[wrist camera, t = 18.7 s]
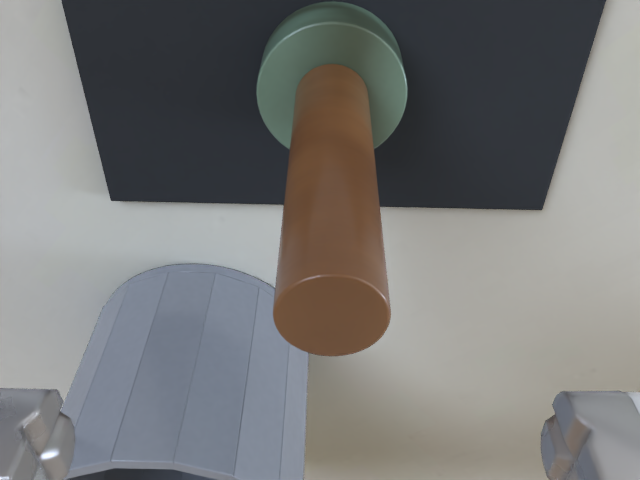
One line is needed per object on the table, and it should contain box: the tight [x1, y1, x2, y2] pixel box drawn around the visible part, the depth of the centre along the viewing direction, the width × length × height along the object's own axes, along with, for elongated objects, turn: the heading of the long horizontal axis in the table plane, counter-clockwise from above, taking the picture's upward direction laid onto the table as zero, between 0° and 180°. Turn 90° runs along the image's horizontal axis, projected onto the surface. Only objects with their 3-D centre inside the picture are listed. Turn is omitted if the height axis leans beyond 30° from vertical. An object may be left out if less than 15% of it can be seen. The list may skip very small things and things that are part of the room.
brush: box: [256, 2, 408, 356], centre depth 17 cm, size 5×5×12 cm
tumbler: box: [60, 264, 309, 480], centre depth 27 cm, size 11×11×10 cm
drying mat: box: [62, 0, 606, 210], centre depth 22 cm, size 18×12×1 cm, turn 89°
